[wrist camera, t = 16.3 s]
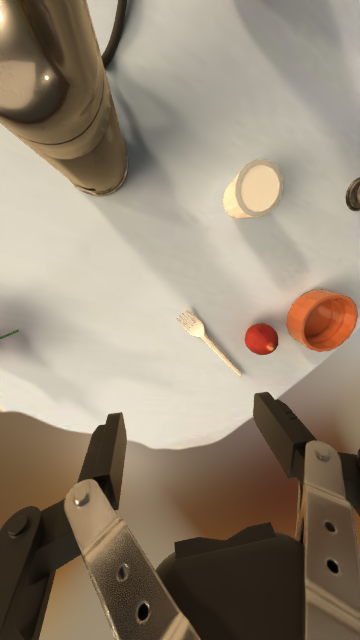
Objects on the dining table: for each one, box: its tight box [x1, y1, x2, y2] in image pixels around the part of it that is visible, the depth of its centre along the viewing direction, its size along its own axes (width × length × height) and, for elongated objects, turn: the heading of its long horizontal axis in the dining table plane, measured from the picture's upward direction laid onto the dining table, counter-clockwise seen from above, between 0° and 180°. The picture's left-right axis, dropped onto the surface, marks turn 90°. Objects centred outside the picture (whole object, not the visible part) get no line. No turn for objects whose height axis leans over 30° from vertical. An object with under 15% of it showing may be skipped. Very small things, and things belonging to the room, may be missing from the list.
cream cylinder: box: [223, 159, 283, 218], centre depth 32 cm, size 7×7×7 cm
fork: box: [177, 310, 242, 377], centre depth 42 cm, size 3×20×2 cm, turn 42°
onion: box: [245, 323, 278, 355], centre depth 40 cm, size 6×6×8 cm
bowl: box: [287, 290, 358, 352], centre depth 42 cm, size 11×11×5 cm
